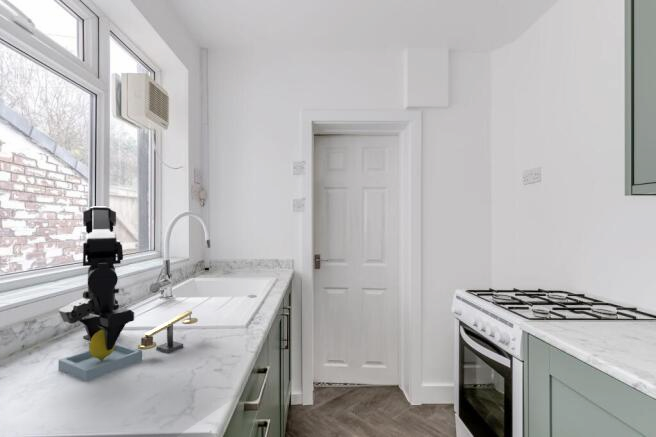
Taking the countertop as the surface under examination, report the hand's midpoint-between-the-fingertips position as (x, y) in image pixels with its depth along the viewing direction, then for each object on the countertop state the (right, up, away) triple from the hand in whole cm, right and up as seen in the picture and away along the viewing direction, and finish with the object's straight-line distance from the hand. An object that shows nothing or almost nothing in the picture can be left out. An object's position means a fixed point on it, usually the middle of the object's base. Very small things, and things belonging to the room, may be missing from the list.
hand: (101, 347), depth 83 cm
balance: (+12, -5, +10) cm, 17 cm away
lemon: (0, -4, 0) cm, 4 cm away
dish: (0, -5, 0) cm, 4 cm away
